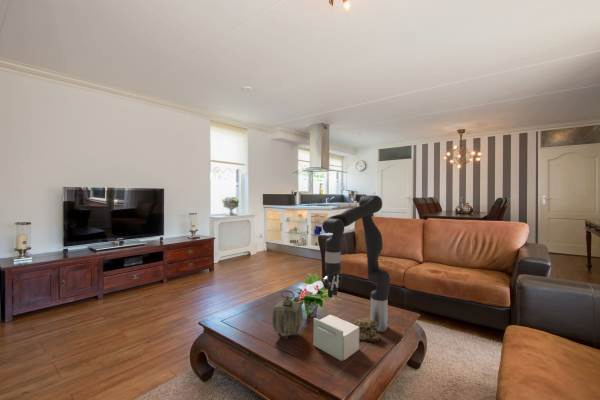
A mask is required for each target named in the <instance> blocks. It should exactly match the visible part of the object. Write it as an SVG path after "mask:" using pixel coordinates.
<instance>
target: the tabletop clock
mask: <svg viewBox="0 0 600 400" xmlns="http://www.w3.org/2000/svg"><path fill="white" fill-rule="evenodd" d="M280 293H281V294H280V295H281V297H282V298H283V299H284V300H279V301H278V302H277V304H276V305H275V306H274V308H273V310H272V311H273V312H272V327H273V331H274V332H276V333H277V334H282V335H283V334H284V335H285V337H284V339H285V340H286V339H287V340H288V338H289V337H288V335H296V336H300V335H301V334H300V333H299V331H300V329H301V326H302V324H303V316H304V314H303V306H302V303H299V302H297V301H293V300H292V299H293V298H294V297H295V294H294V292H292V291H291V290H283V291H281V292H280ZM283 293H290V294H292V296H291V297H289V295H286V296H283Z"/></svg>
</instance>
